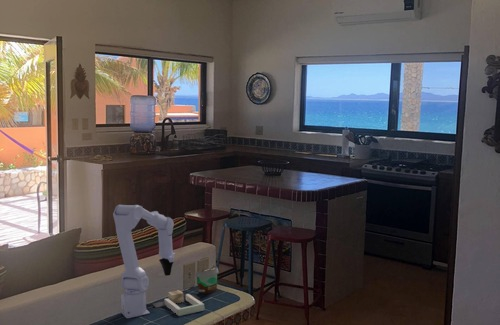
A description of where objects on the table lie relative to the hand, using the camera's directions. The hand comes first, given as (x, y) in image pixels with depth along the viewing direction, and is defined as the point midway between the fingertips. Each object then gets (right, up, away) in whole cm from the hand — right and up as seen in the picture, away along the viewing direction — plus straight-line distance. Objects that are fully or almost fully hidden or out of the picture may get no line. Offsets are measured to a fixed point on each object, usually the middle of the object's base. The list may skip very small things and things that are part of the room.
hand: (167, 275), depth 235 cm
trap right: (+11, -9, -4) cm, 15 cm away
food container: (+19, -8, +5) cm, 21 cm away
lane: (+9, -10, -15) cm, 20 cm away
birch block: (+5, -10, -7) cm, 13 cm away
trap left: (-2, -10, -11) cm, 15 cm away
